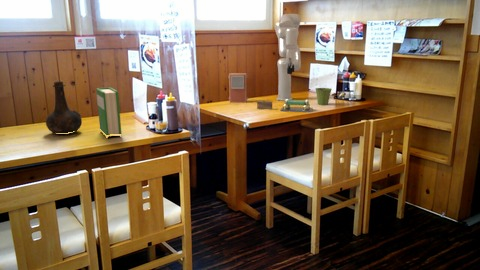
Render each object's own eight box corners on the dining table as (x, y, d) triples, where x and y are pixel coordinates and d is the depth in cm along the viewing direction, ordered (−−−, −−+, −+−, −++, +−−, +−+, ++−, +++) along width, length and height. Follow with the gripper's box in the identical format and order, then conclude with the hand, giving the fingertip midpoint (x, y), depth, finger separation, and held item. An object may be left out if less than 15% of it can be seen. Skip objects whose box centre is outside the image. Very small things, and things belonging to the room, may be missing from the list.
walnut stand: (258, 108, 293) (258, 101, 291) (272, 108, 290) (272, 101, 289) (257, 108, 290) (257, 101, 289) (271, 109, 287) (271, 102, 286)
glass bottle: (83, 135, 223) (77, 82, 216) (46, 138, 217) (39, 84, 210) (82, 128, 239) (77, 79, 233) (48, 131, 233) (42, 80, 227)
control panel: (229, 101, 322) (248, 101, 321) (227, 102, 316) (247, 102, 314) (228, 73, 317) (248, 73, 316) (227, 74, 311) (247, 74, 309)
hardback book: (121, 137, 218) (117, 91, 212) (107, 139, 215) (102, 92, 209) (114, 130, 233) (110, 87, 227) (100, 132, 230) (96, 88, 224)
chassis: (283, 107, 292) (283, 97, 290) (312, 109, 286) (312, 98, 285) (280, 111, 281) (280, 100, 279) (310, 112, 275) (310, 101, 274)
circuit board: (285, 102, 288) (285, 100, 288) (309, 103, 284) (309, 100, 283) (283, 104, 282) (283, 101, 281) (307, 105, 277) (308, 102, 277)
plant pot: (329, 106, 296) (330, 90, 293) (313, 105, 300) (313, 89, 298) (332, 103, 307) (333, 88, 304) (316, 102, 311) (317, 87, 308)
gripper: (287, 46, 291) (287, 70, 296) (283, 48, 275) (283, 74, 280) (298, 46, 289) (298, 71, 294) (294, 48, 273) (294, 75, 278)
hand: (290, 72), depth 287 cm, fingers open, 9 cm apart
